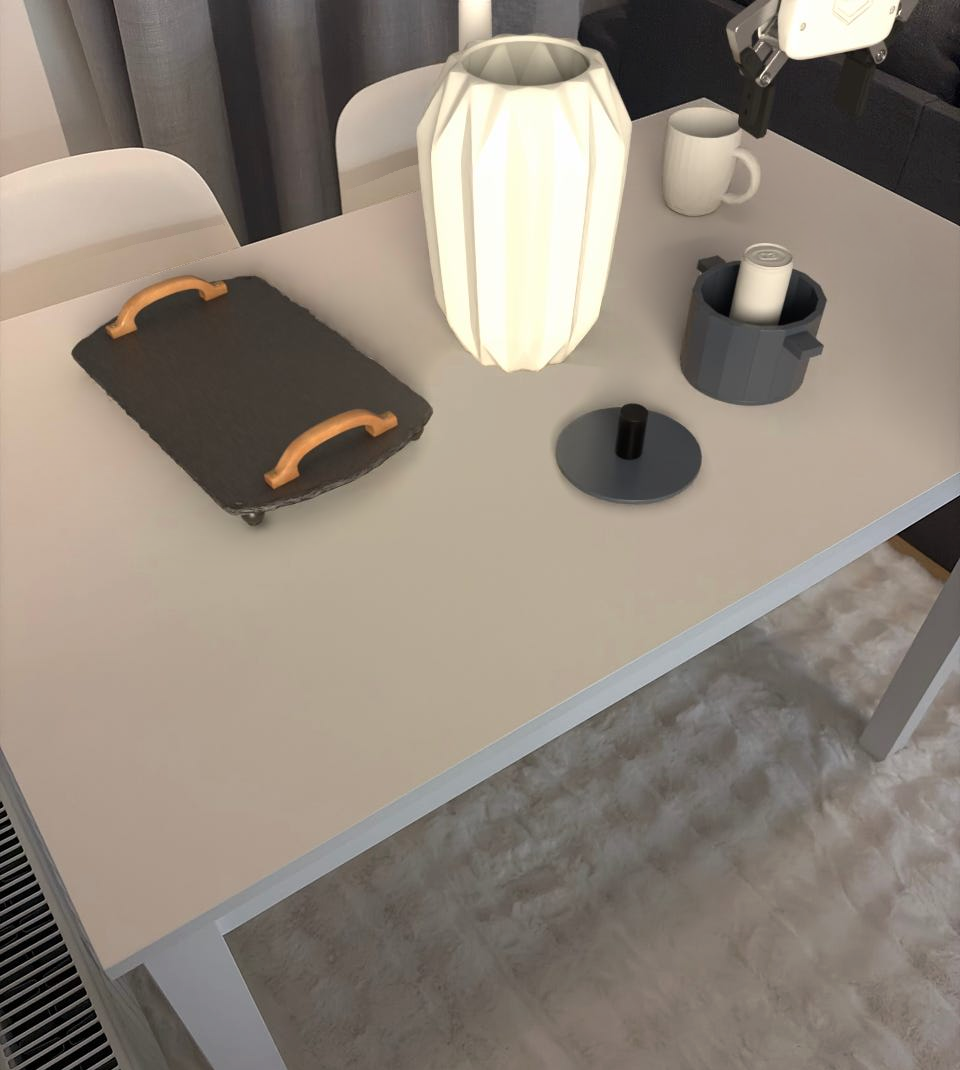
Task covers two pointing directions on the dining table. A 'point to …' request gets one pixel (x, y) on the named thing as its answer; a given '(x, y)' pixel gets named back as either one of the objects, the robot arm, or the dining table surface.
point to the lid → (628, 455)
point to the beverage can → (762, 284)
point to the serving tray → (250, 391)
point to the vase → (522, 194)
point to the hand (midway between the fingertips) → (799, 121)
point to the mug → (704, 161)
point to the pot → (748, 339)
